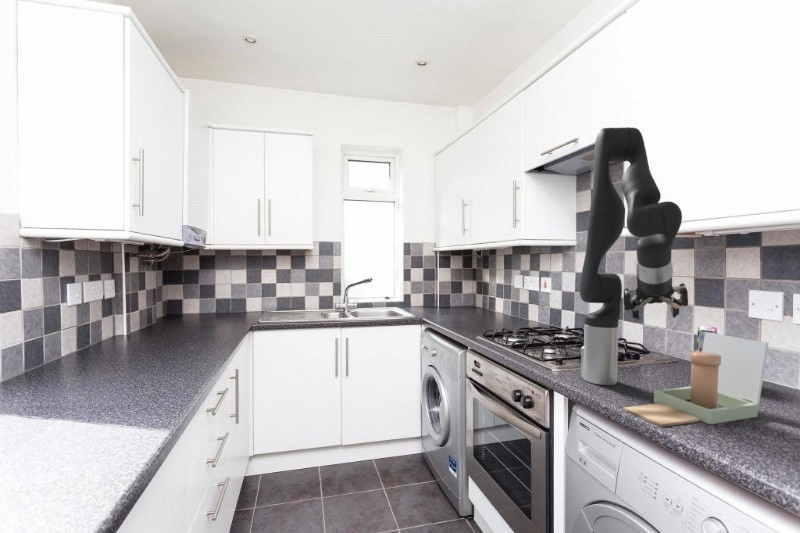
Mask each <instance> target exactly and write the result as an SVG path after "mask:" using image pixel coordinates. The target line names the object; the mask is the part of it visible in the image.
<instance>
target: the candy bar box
mask: <svg viewBox="0 0 800 533" xmlns="http://www.w3.org/2000/svg"><path fill="white" fill-rule="evenodd" d="M705 332H709V333H715V334H718V328H717V327H715V326H714V327H713V326H706V325H698V327H697V332H696V333H697V335H696V337H697V338H696V351H702V349H703V343H704V337H705Z"/></svg>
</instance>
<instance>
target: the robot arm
mask: <svg viewBox="0 0 800 533" xmlns="http://www.w3.org/2000/svg"><path fill="white" fill-rule="evenodd" d="M593 150H594V153H593V154H594V156H593V176H592V179H593V180H592V193H591V200H590V209H589V215H588V223H587V236H586V245H585V246H586V247H585V256H584V261H583V265H582V271H581V276H580V280H579V296H580V300H582V301H583V303H587V304H589V303H590V304H602V306H601V307H600V308H599V309H597V310H596V311H593V312H590V313H588V314H587V313H586V315H585V316H584V328H583V330H584V331H583V332H584V333H583V334H584V335H583V337H584V338H583V346H581V348H580V349H581V354H580V356H581V357H580V378H582V379H583V380H584V381H585V382H588V383H591V384H595V385H599V386H600V385H601V386H614V385H616V384H618V383H617V380H618V379H617V378H618V352H619V348H618V347H619V344H618V343H619V323H620V317H621V305H622V294H623V305H624V306H623V307H624V310H625V311H629V310H631V313H632V318H633V319H635V320H640V312H639V311H640V310H639V309H641V308H643V307H645V306H646V305H647V304H648V305H650V304H651V305H653V304H663V302H664V303H666V304H667V305H668V306H671V308H670V311H671V312H670V313H671V317H672V318H677V316H679V315H680V307H682V306H683V307H687V306H688V305H689V297H688V296H689V295H688V294H689V293H688V289H687V287H686V283H683V282H682V283H679V285H678V286H673V273H674V270H673V262H672V246H673V244H674V241H675V239H676V236H677V234H678V233H679V230H680V228H681V225H682V220H683V214H682V209H681V208H680V206H679V205H677V204H678V203H677V204H676V203H675V202H673V201H669V200H668V201H660V200H661V197H662V196H661V192H660V189H659V188H658V185H657V183H656V181H655V179H654V177H653V174H652V173H651V170H650V167H649V166H650V165H649V160H648V154H647V151H646V146H645V140H644V137H643V134H642V132H641V131H640V129H638V128H637V127H632V126H631V127H630V126H629V127H605V128H604V127H602V128H601V129H600V130H598V133H597V134H596V139H595V142H594V149H593ZM611 162H612V163H614V162H615V163H617V162H618V163H619V162H623V163H624V162H628V163H629V166H628V167H627V169H626V170H625V172H624V174H623V175H622V177H621V180H620V182H621V183H620V184H621V185H620V186H621V187H620V188H621V191H622V194H623V196H624V199H625V201H626V204H627V214H626V208H625V203H624V201H623V199H622V198H621V196H620V195H619V192H618V191H617V189H616V188H615V185H614V183H613V181H612V179H611V178H612V177H611V174H610V163H611ZM625 216H626V227H627V231H628V232H629V233H630V235H632V237H633V236H634V237H635V238H640V239H638V241H637V242H636V283H637V284H636V285H637V286H636V288H635V290H632V289H631V290H630V289H629V288H623V284H622V279H621V277H620V276H619V275H618V274H616V273H612V272H611V273H609V272H598V271H599V268H600V265H601V263H602V261H603V259H604V257H605V255H606V254H607V253H608V251H609V250H610V249H611V247H613V245H614V244H616V242H617V240H618V239H619V238H620V236H621V234H622V233H623V229H624V224H625ZM674 293H677V294H678V295H679V298H678V299H677V298H676V297H675V296H673V295H674ZM634 296H636V297H635V299H634V300H633V301H631V300H632V299H633V298H634Z"/></svg>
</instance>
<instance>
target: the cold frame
mask: <svg viewBox="0 0 800 533" xmlns="http://www.w3.org/2000/svg"><path fill="white" fill-rule="evenodd" d="M690 391H691V385H690V386H682V387H675V388H668V389H658V390H654V391H653V403H661V404H664V405H666V406H669V407H672V408H674V409H677V410H679V411H682V412H685V413H687V414H690V415H692V416H695V417H697V418H700V421H701V422H704V423H706V424H708V425H714V424H721V423H727V422H734V421H738V420H745V419H751V418H757V417H758V412H759V404H755V403H751V402H747V401H744V400H742V399H739V398H735V397H732V396H729V395H726V394H723V393H719V392H718V403H717V406H718V405H719V406H721V407H717V408H715V409H707V408H704V407H702V406H699V405H696V404H693V403H691V402H690V401H688V400H690Z"/></svg>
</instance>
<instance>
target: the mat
mask: <svg viewBox="0 0 800 533" xmlns="http://www.w3.org/2000/svg"><path fill="white" fill-rule="evenodd" d="M623 411H625V412H627V413H629V414H631V415H634V416H636V417H638V418H640V419H643V420H646V421H647V422H649V423H651V424H653V425H655V426H658V427H660V428H665V427H670V426H675V425H676V426H677V425H684V424H690V423H696V422H700V421H701V420H700V418H697V417H695V416H692V415H690V414H687V413H685V412H682V411H679V410H677V409H674V408H672V407H669V406H666V405H664V404H661V403H655V402H653V403H647V404H640V405H632V406H625V407H623Z"/></svg>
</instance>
